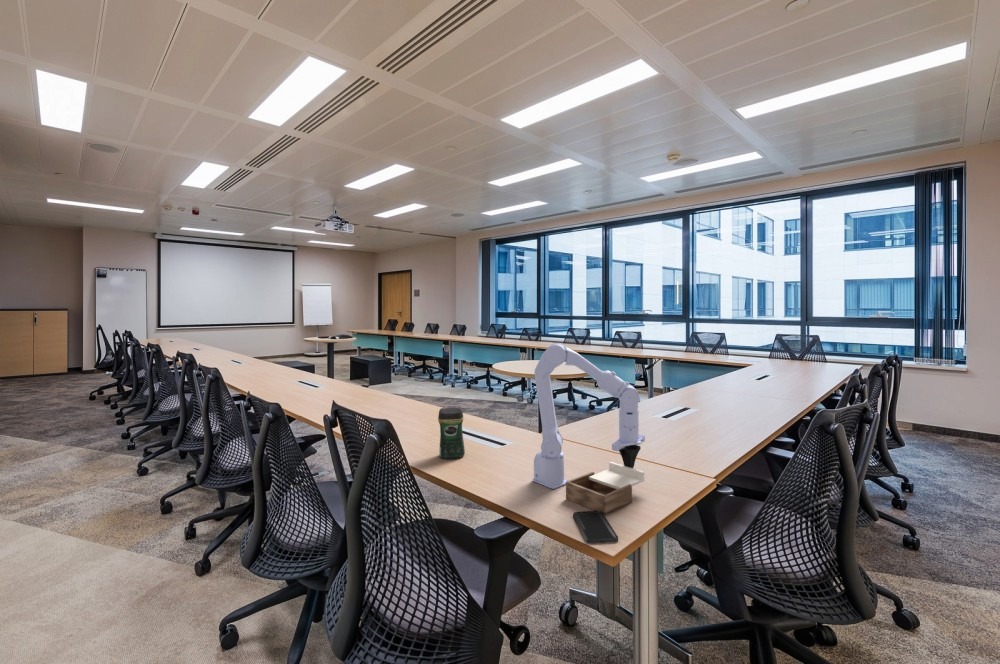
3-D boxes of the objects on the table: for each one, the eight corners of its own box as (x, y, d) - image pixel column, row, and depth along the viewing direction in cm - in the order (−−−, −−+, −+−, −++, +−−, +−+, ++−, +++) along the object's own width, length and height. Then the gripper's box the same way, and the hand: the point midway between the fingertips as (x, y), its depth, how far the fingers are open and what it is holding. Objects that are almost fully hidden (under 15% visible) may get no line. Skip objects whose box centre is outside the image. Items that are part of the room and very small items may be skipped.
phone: (600, 510, 119) (619, 539, 104) (601, 514, 119) (619, 543, 104) (571, 512, 119) (586, 540, 104) (572, 516, 119) (586, 545, 104)
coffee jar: (464, 452, 173) (463, 405, 172) (464, 459, 165) (463, 409, 165) (439, 453, 173) (438, 406, 172) (438, 460, 165) (437, 410, 164)
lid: (588, 479, 133) (588, 470, 133) (611, 470, 140) (611, 461, 140) (622, 491, 124) (622, 481, 124) (644, 480, 131) (644, 471, 131)
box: (566, 498, 129) (565, 481, 128) (592, 487, 136) (592, 471, 136) (605, 515, 118) (605, 496, 118) (631, 502, 125) (631, 484, 125)
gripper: (626, 432, 128) (626, 478, 129) (653, 423, 137) (653, 466, 138) (605, 427, 133) (606, 472, 134) (633, 419, 143) (633, 461, 143)
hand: (629, 469), depth 136 cm, fingers closed
